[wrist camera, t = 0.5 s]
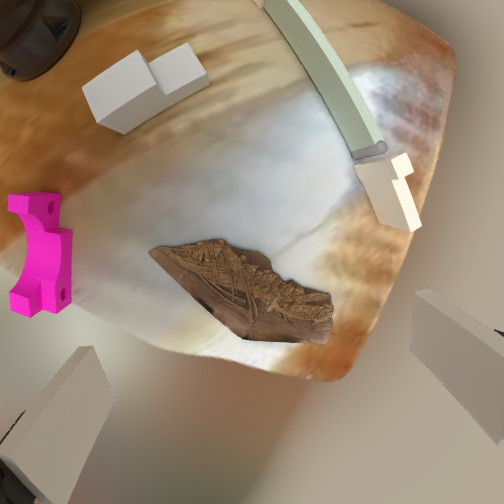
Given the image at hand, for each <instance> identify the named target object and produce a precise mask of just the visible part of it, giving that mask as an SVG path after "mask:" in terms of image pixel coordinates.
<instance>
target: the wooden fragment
mask: <svg viewBox="0 0 504 504" xmlns="http://www.w3.org/2000/svg"><path fill="white" fill-rule="evenodd" d="M148 253H149V255H150V256H151V257H152V258H153V259H154V260H155V261H156V262H157V263H158V264H159V265H160V266H161V267H162V268H163V269H164V270H165V271H166V272H167V273H169V275H170V276H172V277H173V278H174V279H175V280H176V281H177V282H178V283H179V284H180V285H181V286H182V287H183V288H184V289H185V290H186V291H187V292H188V293H190V294H191V295H192V297H193V298H195V300H196V301H198V302H199V303H200V304H201V305H202V306H203V307H204V308H205V309H206V310H207V311H208V312H210V313H211V314H212V315H213V316H214V317H215V318H216V319H218V320H219V321H220V322H221V323H223V325H225V326H227V327H228V328H229V329H231V331H232V332H233V333H234V334H236V335H237V336H238V337H240V338H242V339H244V340H250V341H251V340H252V341H266V342H289V343H314V344H327V341H328V337H329V334H330V330H331V328H332V325H333V320H332V318H331V317H332V313H333V310H334V306H333V305H332V304H331V294H328V295H327V294H325V293H318V292H317V291H315V290H310V289H304V288H302V287H301V286H300V285H298V284H296V283H295V282H294V281H293V280H290V281H289V282H287V283H285V282H284V281H283V280H282V279H281V277H279V276H278V275H277V274H276V273H275V272H272V267H271V262H270V261H269V260H268V259H267V258H266V257H265V256H263V255H261V254H260V253H259V252H250V251H246V250H241V249H236V248H235V247H232V246H230V245H228V244H227V243H226V241H225V240H214V239H213V240H210V241H201V242H197V243H196V244H190V245H185V246H179V247H173V248H168V247H163V246H162V247H159V248H155V249H152V250H151V251H149V252H148ZM243 335H244V336H243Z"/></svg>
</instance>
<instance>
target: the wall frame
mask: <svg viewBox="0 0 504 504" xmlns="http://www.w3.org/2000/svg"><path fill="white" fill-rule="evenodd" d="M253 1H254V2H255V3H256V5H257V6H258V7H259V9H261V8H264V5H265V0H253ZM353 167H354V170H355V172H356V174H357V176H358V178H359V180H360V181H362V184H363V186H364V188H365V191H366V193H367V195H368V197H369V200H370V202H371V205H372V207H373V209H374V212H375V214H376V217H377V219H378V222H379V223H380V224H383V225H387V226H390V227H394V228H397V229H401V230H404V231H408V232H413V231H414V230H416V229H418V228H419V227H421V226H422V225H421V222H420V219H419V216H418V213H417V210H416V207H415V204H414V201H413V199H412V196H411V193H410V191H409V188H408V185H407V183H406V180H405V178H404V177H405V176H407V175H409V174H411V173H412V172H414V170H413V168H412V165H411V163H410V160H409V158H408V156H407V153H406V152H405V153H399V154H394V155H388V156H383V157H378V158H373V159H367V160H364V161H362V162H360V163H358V164H356V165H354V166H353Z"/></svg>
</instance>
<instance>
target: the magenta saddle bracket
mask: <svg viewBox="0 0 504 504" xmlns="http://www.w3.org/2000/svg"><path fill="white" fill-rule="evenodd" d="M60 201H61V194H59V193H50V192H42V191H40V192H26V193H14V194H9V198H8V211H12V212H14V213H16V214H17V215H18V216H19V217H20V218H21V220H22V221H23V224H24V226H25V229H26V234H27V257H26V262H25V266H24V269H23V272H22V274H21V277H20V279H19V280H18V282H17V284H16V285H15V286H14V287H13V288H12V290H10V291H9V296H10V305H11V311H14V312H17V313H19V314H22V315H24V316H27V317H29V318H31V317H32V316H34V315H35V314H37V313H38V312H40V311H41V310H46V311H49V312H52V313H55V314H57V313H58V312H60V311H61V310H62V309H64V308H65V307H66V306H68V305H69V304H70V303H72V302H71V251H72V231H71V230H65V229H60V228H58V226H59V212H60Z"/></svg>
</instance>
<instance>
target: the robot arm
mask: <svg viewBox="0 0 504 504" xmlns="http://www.w3.org/2000/svg"><path fill="white" fill-rule="evenodd" d="M79 23H80V9H79V7H78V5H77V4H76V3H75V2H74V1H73V0H0V69H1V71H2V72H3V73H4V74H5V75H6V76H8V77H10V78H13V79H15V80H18V81H25V80H29V79H32V78H34V77H36V76H38V75H40V74H41V73H43V72H44V71H46V70H47V69H48V68H49V67H51V66H52V65H53V64H54V63H55V62H56V61H57V60H58V59H59V58H60V57H61V55H62V54H63V53H64V52H65V50H66V49H67V48H68V46H69V45H70V43H71V42H72V40H73V38H74V36H75V34H76V32H77V29H78V27H79ZM410 350H411V351H412V352H413V353H414V354H415V355H416V356H417V358H418V359H419V360H420V361H421V362H422V363H423V364H424V365H425V366H426V367H427V368H428V369H429V370H430V371H431V372H432V374H434V376H436V378H437V379H438V380H439V381H440V382H441V383H442V384H443V385H444V386H445V387H446V389H447V390H448V391H449V392H450V393H451V394H452V395H453V396H454V397H455V399H456V400H457V401H458V402H459V403H460V404H461V405H462V406H463V407H464V409H465V410H466V411H467V412H468V413H469V414H470V415H471V416H472V418H473V419H474V420H475V421H476V422H477V423H478V424H479V426H480V427H481V428H482V429H483V430H484V431H485V432H486V433H487V435H488V436H489V437H490V438H491V439H492V441H493V442H494V443H495V444H496V445H497V446H498V445H500V444H501V443H503V442H504V332H501V331H498V330H495V329H494V330H492V329H491V328H489V327H488V326H486V325H485V324H483V323H482V322H480V321H479V320H477V319H476V318H474V317H473V316H471V315H470V314H468V313H467V312H465V311H463V310H462V309H460V308H459V307H457V306H456V305H454V304H452V303H451V302H449V301H448V300H446V299H444V298H443V297H441V296H440V295H438V294H436V293H435V292H433V291H431V290H430V289H428V288H427V289H423V290H420V291H416V292H413V311H412V328H411V341H410ZM115 399H116V396H115V394H114V392H113V390H112V388H111V386H110V384H109V382H108V379H107V377H106V375H105V373H104V371H103V368H102V366H101V364H100V361H99V359H98V357H97V354H96V352H95V349H94V347H93V346H83V347H79V348H77V350H76V351H75V352H74V353H73V354H72V355H71V357H70V358H69V359H68V360H67V361H66V362H65V364H64V365H63V366H62V367H61V368H60V369H59V371H58V372H57V373H56V374H55V375H54V377H53V378H52V379H51V380H50V382H49V383H48V384H47V385H46V387H45V388H44V389H43V390H42V391H41V393H40V394H39V395H38V397H37V398H36V399H35V400H34V401H33V403H32V404H31V405H30V406H29V408H28V409H27V410H25V411H24V412H23V413H22V414H21V415H20V416H19V417H18V419H17V420H16V422H15V424H13V425H12V427H11V428H10V431H8V432H7V433H6V435H5V436H4V437H3V439H2V440H1V441H0V504H34V503H33V502H34V500H35V498H37V499H38V500H39V501H40V502H41V503H42V504H67V503H68V500H69V498H70V496H71V493H72V491H73V488H74V486H75V484H76V482H77V479H78V477H79V475H80V473H81V471H82V468H83V466H84V464H85V462H86V460H87V457H88V455H89V453H90V451H91V449H92V447H93V444H94V442H95V440H96V438H97V436H98V433H99V432H100V430H101V428H102V425H103V423H104V422H105V419H106V417H107V415H108V413H109V411H110V409H111V407H112V405H113V403H114V401H115Z"/></svg>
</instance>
